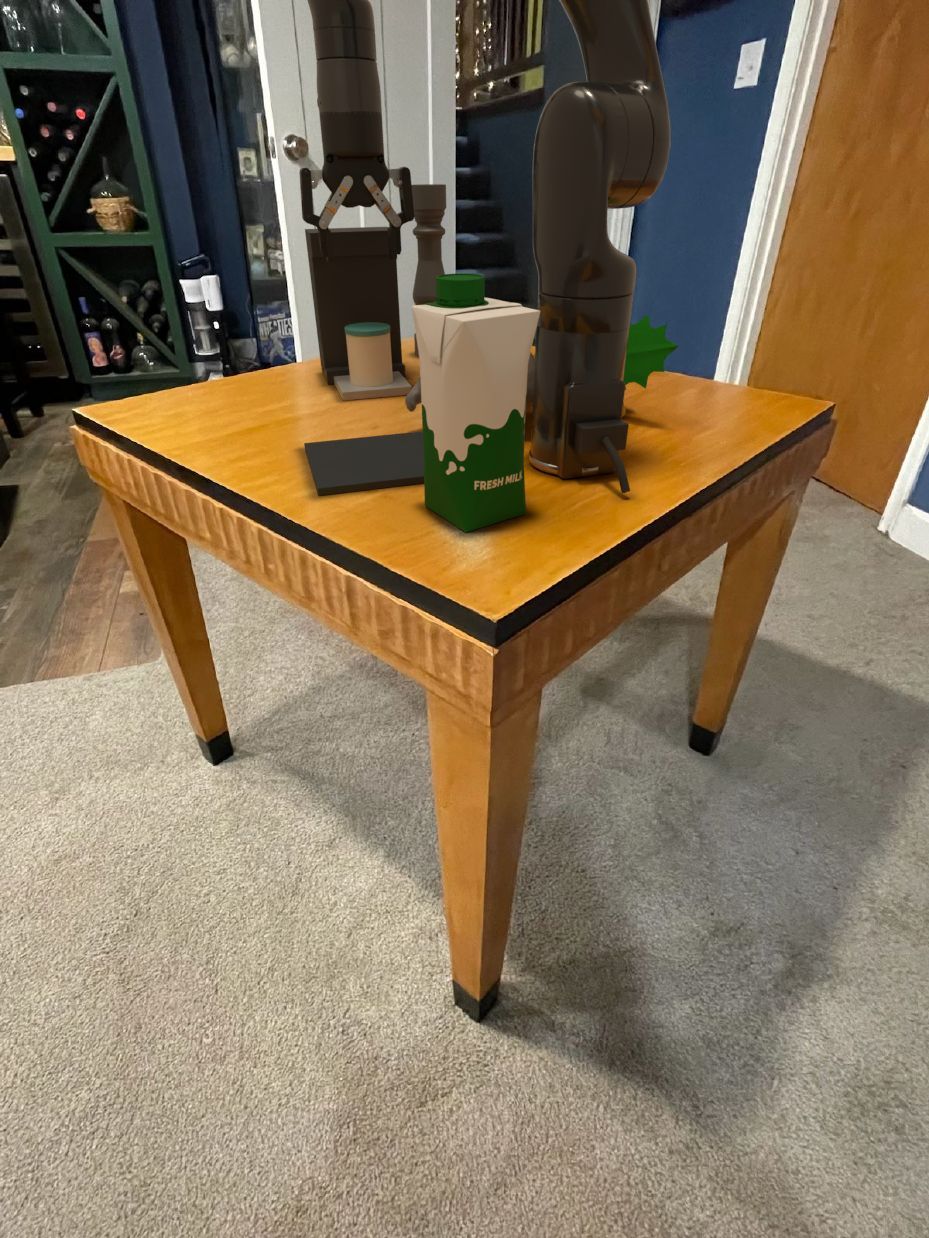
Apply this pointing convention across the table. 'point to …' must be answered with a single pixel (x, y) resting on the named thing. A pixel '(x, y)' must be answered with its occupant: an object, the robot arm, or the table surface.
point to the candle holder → (428, 241)
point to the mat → (366, 462)
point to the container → (369, 354)
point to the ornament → (645, 352)
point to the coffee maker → (355, 303)
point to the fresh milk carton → (473, 401)
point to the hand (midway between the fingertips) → (362, 260)
